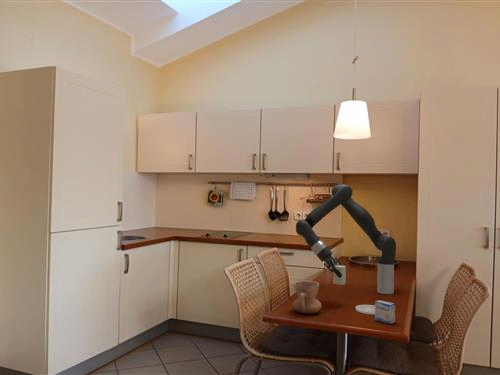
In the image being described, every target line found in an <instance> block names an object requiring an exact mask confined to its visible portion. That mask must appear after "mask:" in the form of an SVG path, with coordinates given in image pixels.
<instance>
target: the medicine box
mask: <svg viewBox="0 0 500 375" xmlns="http://www.w3.org/2000/svg"><path fill="white" fill-rule="evenodd" d="M374 303H375V304H374V306H375V315H374V321H378V322H382V323H386V324H390V325H391V324H394V323H395V322H396V303H395V302H394V303H393V302H391V301H384V300H380V299H379V300H375V301H374Z"/></svg>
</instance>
